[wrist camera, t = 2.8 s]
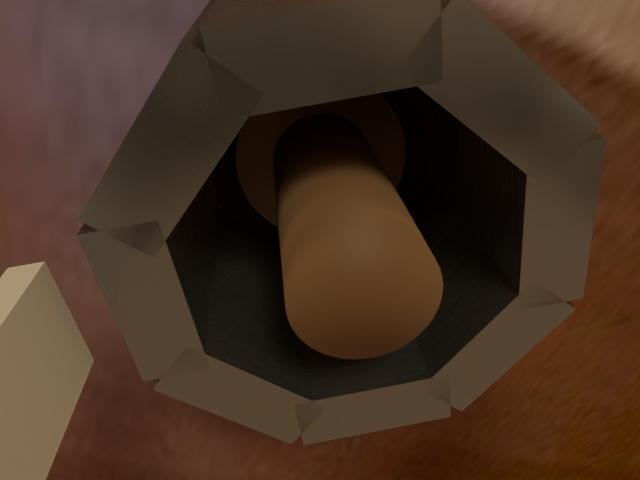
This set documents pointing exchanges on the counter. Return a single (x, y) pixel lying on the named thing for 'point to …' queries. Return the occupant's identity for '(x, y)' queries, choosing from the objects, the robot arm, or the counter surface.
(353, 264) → the tan peg with base
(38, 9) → the counter surface
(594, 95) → the counter surface
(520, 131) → the grey hollow octagonal ring
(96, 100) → the counter surface
